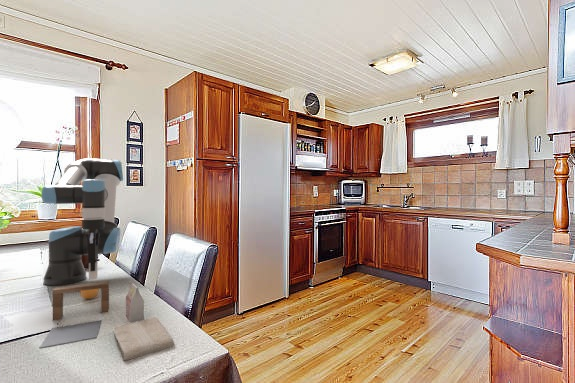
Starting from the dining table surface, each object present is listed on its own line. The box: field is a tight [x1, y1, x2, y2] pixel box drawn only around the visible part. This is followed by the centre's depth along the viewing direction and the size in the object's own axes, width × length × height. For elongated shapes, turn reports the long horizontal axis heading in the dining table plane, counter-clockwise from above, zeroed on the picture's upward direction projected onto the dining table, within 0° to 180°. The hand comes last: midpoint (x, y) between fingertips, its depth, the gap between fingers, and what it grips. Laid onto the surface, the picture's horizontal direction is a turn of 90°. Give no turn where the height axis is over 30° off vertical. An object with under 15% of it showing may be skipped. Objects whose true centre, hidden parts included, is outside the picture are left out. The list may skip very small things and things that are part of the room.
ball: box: [80, 282, 100, 300], centre depth 109 cm, size 6×6×6 cm
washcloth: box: [113, 316, 175, 361], centre depth 79 cm, size 12×18×3 cm, turn 39°
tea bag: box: [125, 283, 145, 323], centre depth 93 cm, size 4×7×10 cm, turn 39°
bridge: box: [52, 281, 110, 322], centre depth 95 cm, size 3×14×9 cm, turn 116°
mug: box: [81, 255, 89, 269], centre depth 153 cm, size 12×9×10 cm
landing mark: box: [39, 319, 102, 349], centre depth 82 cm, size 12×12×1 cm
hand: (93, 278), depth 117 cm, fingers closed
